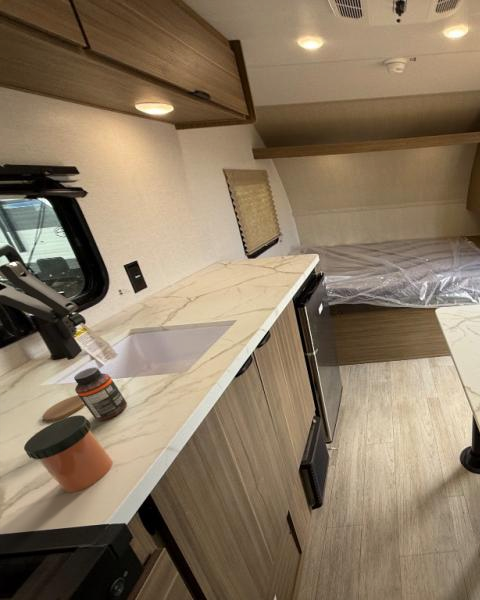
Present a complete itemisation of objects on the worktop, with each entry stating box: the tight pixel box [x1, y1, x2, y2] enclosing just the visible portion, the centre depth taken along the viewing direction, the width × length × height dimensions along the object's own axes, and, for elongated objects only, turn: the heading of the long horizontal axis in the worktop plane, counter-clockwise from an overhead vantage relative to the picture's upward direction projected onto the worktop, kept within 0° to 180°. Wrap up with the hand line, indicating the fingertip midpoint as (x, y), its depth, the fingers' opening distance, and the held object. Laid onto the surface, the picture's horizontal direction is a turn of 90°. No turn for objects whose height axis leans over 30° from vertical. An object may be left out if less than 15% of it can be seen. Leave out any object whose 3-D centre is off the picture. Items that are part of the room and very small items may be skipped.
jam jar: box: [37, 429, 113, 493], centre depth 55 cm, size 7×7×10 cm
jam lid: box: [23, 414, 92, 460], centre depth 54 cm, size 8×8×2 cm
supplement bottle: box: [73, 366, 128, 421], centre depth 71 cm, size 6×6×11 cm
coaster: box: [42, 394, 86, 422], centre depth 76 cm, size 8×8×1 cm
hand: (25, 368), depth 51 cm, fingers open, 13 cm apart
